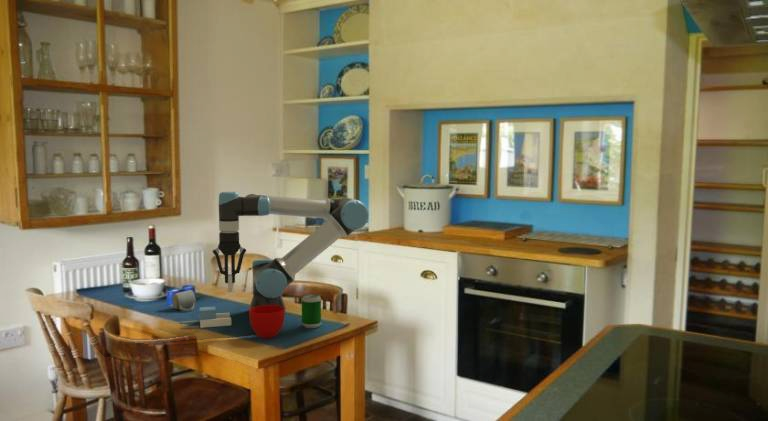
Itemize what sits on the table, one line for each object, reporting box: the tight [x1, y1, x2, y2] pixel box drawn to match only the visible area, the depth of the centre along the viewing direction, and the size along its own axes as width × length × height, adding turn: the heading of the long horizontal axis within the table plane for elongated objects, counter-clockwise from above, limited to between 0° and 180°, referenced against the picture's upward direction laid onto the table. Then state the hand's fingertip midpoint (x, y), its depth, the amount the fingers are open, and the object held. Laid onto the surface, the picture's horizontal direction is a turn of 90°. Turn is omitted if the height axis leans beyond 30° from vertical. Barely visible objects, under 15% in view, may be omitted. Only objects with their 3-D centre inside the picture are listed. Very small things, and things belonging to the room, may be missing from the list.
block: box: [199, 306, 217, 321], centre depth 246 cm, size 6×6×6 cm
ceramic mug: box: [171, 289, 196, 313], centre depth 273 cm, size 11×8×8 cm
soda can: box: [301, 293, 322, 329], centre depth 246 cm, size 8×8×12 cm
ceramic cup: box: [248, 305, 286, 339], centre depth 235 cm, size 13×17×10 cm
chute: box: [180, 312, 232, 330], centre depth 246 cm, size 18×10×4 cm, turn 107°
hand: (230, 291), depth 248 cm, fingers closed
